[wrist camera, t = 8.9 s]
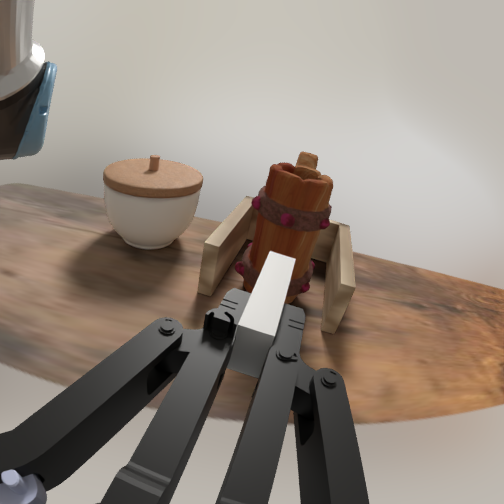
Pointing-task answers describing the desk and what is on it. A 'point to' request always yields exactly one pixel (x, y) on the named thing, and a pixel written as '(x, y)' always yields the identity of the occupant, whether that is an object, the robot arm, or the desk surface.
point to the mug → (288, 221)
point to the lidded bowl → (150, 200)
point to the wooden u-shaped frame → (326, 249)
